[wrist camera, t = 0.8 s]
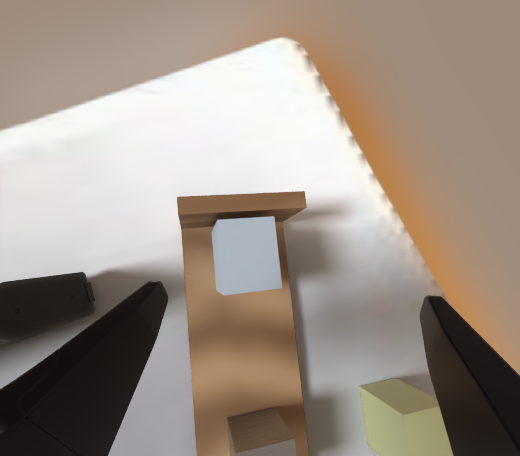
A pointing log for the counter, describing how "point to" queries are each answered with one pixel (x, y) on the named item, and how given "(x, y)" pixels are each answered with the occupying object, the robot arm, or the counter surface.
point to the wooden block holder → (239, 326)
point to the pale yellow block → (403, 420)
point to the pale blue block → (246, 255)
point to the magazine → (42, 304)
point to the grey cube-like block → (260, 434)
